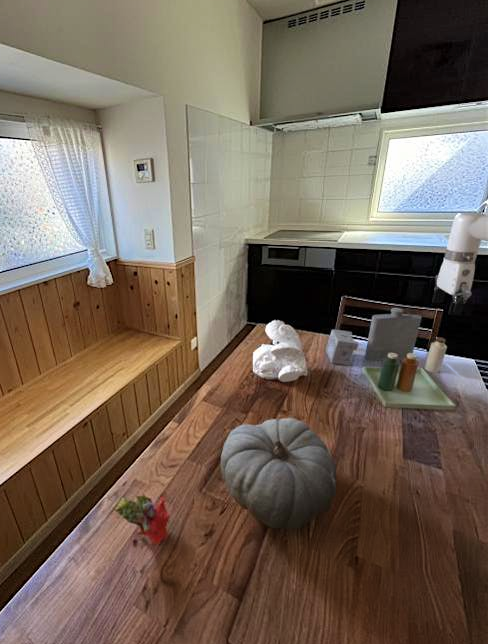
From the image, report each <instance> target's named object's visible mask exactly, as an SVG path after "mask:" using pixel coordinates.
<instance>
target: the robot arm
mask: <svg viewBox="0 0 488 644" xmlns="http://www.w3.org/2000/svg"><path fill="white" fill-rule="evenodd" d="M482 241H487V242H488V215H487V214H485V213H483V212H460V213H458V214H456V215H455V217H454V218H453V221H452V226H451V230H450V233H449V237H448V241H447V244H446V248H445V251H444V252H445V253H444V256H443V261H442V263H441V266H440V269H439V272H438V274H437V275H435V277H434V278H435V279H434V281H435V282H434V292H433V296H432V301H431V302H432V304H443V303H444V301H445V297H446V294H449V295H451V296H452V302H450V306H449V310H448V314H447V315H449V316H460V315H461V314H462V311H463V307H464V304H466V302H468V301H469V298H470V297H471V296H472V291H471V289H472V287H473V282H474V278H475V277H474V276H475V270H476V263H475V262H476V259H477V255H478V253H479V249H480V247H481V243H482Z"/></svg>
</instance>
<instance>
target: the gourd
mask: <svg viewBox="0 0 488 644" xmlns="http://www.w3.org/2000/svg"><path fill="white" fill-rule="evenodd" d="M220 471H221V475H222V478H223V480H224V481H225V484H226V487H227V489H228V491H229V492H230V494H231V496H232V498H233V500H234V501H235V502H236V503H237V504H238V505H239V506H240V507H241V508H242V509H244V510H246V511H248V512H249V513H250V514H251V516H253V518H255V519H257V520H258V521H259V522H260V523H262V524H264V525H265V526H266V527H269V528H271V529H275V530H280V529H283V530H286V531H287V530H289V531H294V530H297V529H299V528H301V527H302V526H304V525H306V524H308V523H310V522H312V521H314V520H315V519H317V520H318V519H319V518H321V517H323V516H325V515H326V514H327V513H328V512H329V511H330V508H331V507H332V505H333V504H332V503H333V501H334V498H335V495H336V491H337V466H336V463H335V460H334V458H333V456H331V454H330V452H329V448H328V447H327V445H326V443H325V442H324V440H323V439H322V438H321V437H320V436H319V435H318V434H317V433H316V432H314V431H313V430H311V428H310V427H309V426H308V425H307V424H305V423H304V422H303V421H301V420H298V419H295V418H293V417H285V418H284V417H283V418H279V419H276V418H272V419H267V420H264V421H263V422H262V423H261V424H255V425H254V424H248V423H245V424H240V425H239V426H236V427H235V428H234V429H232V430H231V431H230V433H229V434H228V435H227V438H226V440H225V441H224V443H223V446H222V452H221V454H220Z"/></svg>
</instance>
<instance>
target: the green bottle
mask: <svg viewBox="0 0 488 644" xmlns="http://www.w3.org/2000/svg"><path fill="white" fill-rule="evenodd" d="M397 357H398V355H397V354H396V353H388V358H384V360H382V365H381V367H382V369H381V373H380V378H379V383H378V387H379V388H380V389H381V390H383V391H393V389H394V385H395V381H396V376H397V372H398V368H399V367H400V365H401V364H400V360H397Z"/></svg>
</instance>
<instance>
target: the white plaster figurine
mask: <svg viewBox="0 0 488 644" xmlns="http://www.w3.org/2000/svg"><path fill="white" fill-rule="evenodd" d="M265 334H266V335H267V336H268V338H269V339H270V340H272V344H265V343H262V344H261V346H259V347H258V348H256V349H255V350H254V351H253V352H252V354H253V355H252V372H253V373H254V375H257V376H258V377H260V378H261V379H264V378H265V379H264V380H278V381H280V382H281V383H282V382H283V383H289V382H293V381H297V380H298V379H299V377H302V376H304V377H306V376H308V368H307V361H306V358H305V352H304V351H303V350H302V343H301V339H300V336H299V334H298V332H297V331H296V330H295V329H294V327H292V326H291V325H289V324H285V322H284V321H283V320H279V319H277V320H276V319H274V320H272V321H271V322H269V323H267V325H266V327H265Z"/></svg>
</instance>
